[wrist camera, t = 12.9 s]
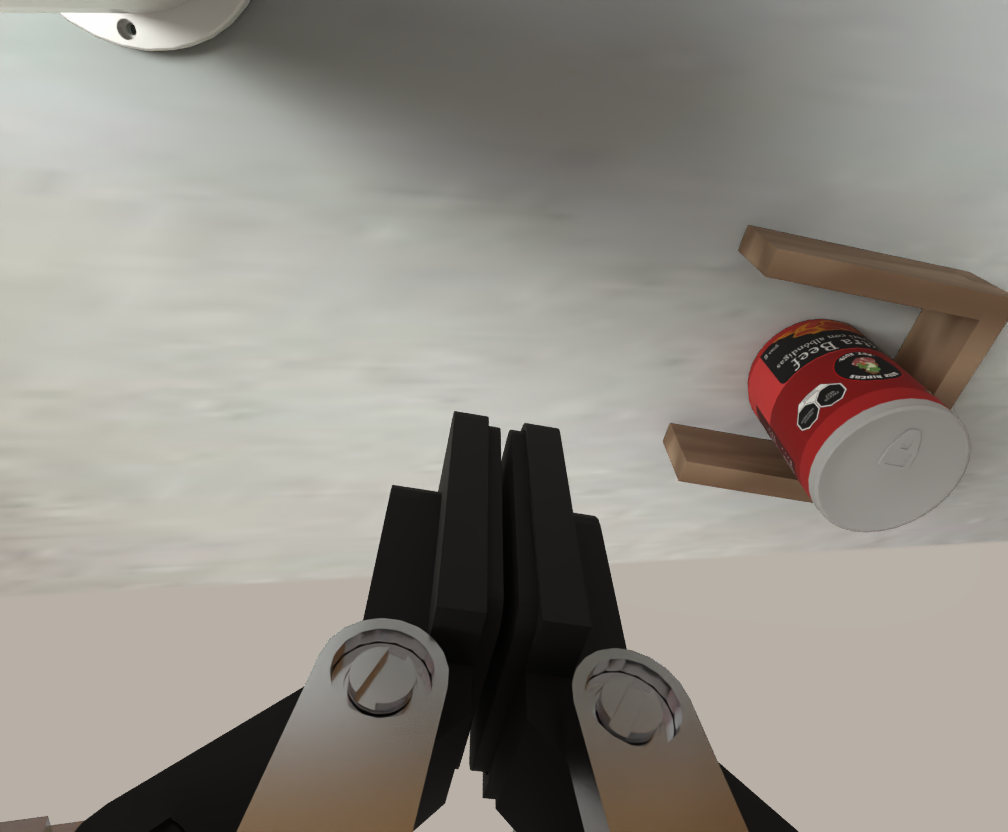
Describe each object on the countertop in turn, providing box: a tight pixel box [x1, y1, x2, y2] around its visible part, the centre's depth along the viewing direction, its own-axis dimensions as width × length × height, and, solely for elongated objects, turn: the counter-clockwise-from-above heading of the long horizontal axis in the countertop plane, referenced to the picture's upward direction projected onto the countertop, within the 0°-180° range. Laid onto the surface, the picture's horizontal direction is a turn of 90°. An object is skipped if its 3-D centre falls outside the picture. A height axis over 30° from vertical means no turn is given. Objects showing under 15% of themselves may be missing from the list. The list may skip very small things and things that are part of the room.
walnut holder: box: [663, 225, 1008, 503], centre depth 40 cm, size 15×14×4 cm
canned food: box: [748, 319, 971, 532], centre depth 38 cm, size 8×8×11 cm
